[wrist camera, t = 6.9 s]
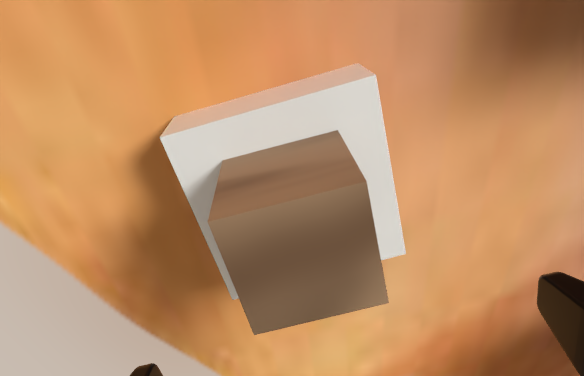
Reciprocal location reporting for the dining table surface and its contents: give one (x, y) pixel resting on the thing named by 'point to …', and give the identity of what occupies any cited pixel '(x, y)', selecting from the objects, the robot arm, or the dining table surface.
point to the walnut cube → (297, 233)
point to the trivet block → (284, 129)
